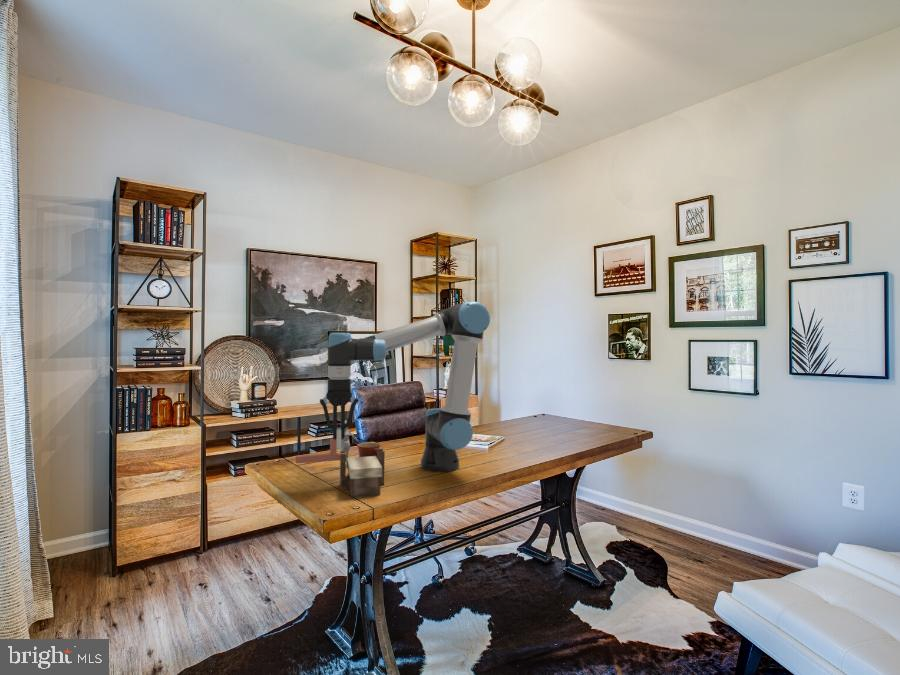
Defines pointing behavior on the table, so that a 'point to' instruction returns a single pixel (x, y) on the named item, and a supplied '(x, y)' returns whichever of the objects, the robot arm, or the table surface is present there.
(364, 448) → the mug
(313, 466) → the table surface
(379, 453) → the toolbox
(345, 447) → the human figurine
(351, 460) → the lid
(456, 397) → the robot arm
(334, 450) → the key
